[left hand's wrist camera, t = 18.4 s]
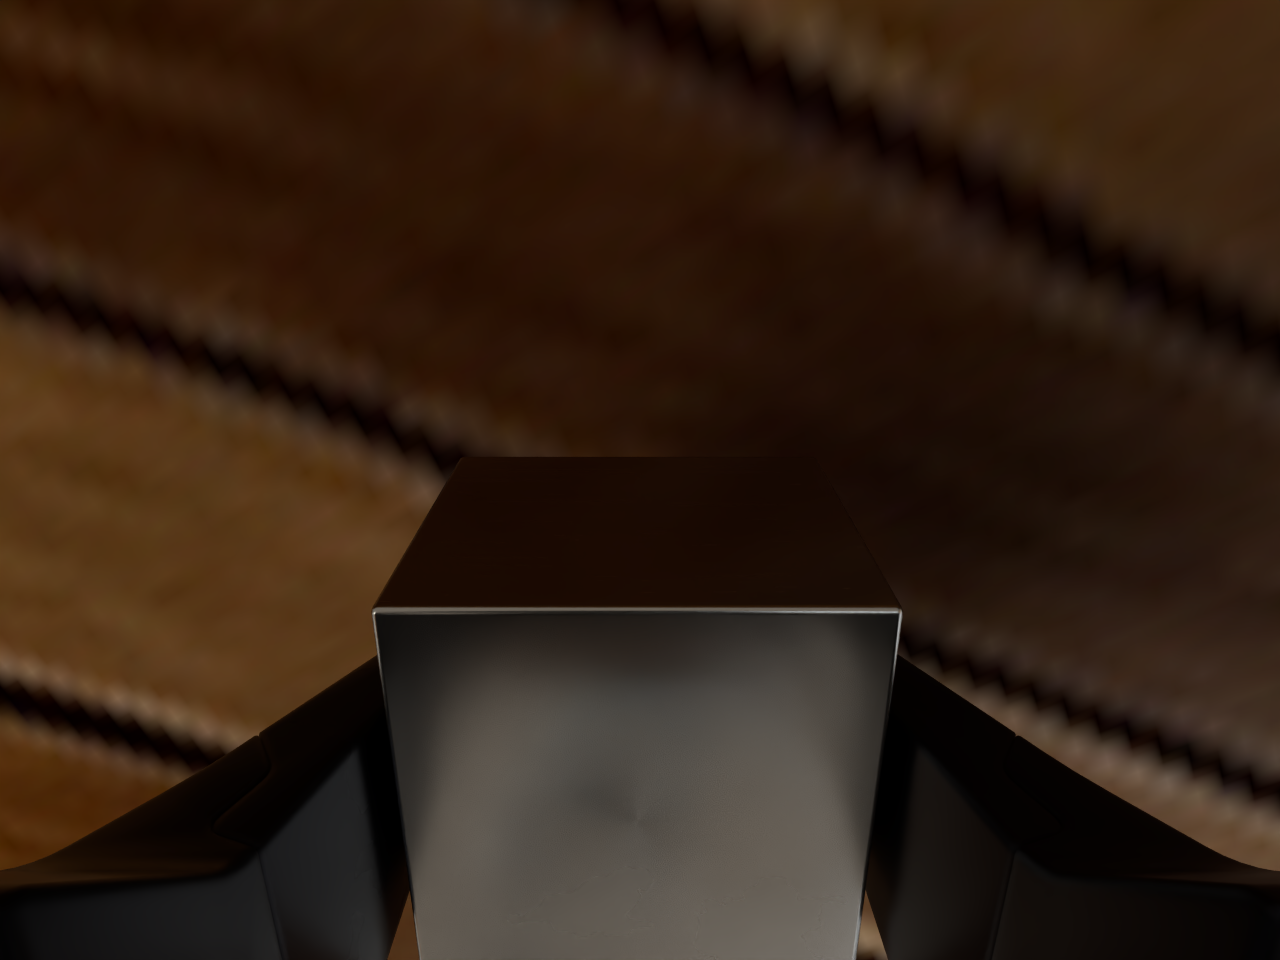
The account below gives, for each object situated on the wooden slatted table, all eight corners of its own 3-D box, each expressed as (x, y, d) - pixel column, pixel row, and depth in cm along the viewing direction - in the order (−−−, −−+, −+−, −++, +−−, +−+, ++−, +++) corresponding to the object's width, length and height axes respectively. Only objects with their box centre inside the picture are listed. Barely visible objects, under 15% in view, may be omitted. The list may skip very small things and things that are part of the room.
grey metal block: (816, 455, 12) (906, 608, 8) (791, 747, 14) (853, 990, 10) (460, 455, 12) (369, 608, 8) (484, 747, 14) (421, 990, 10)
